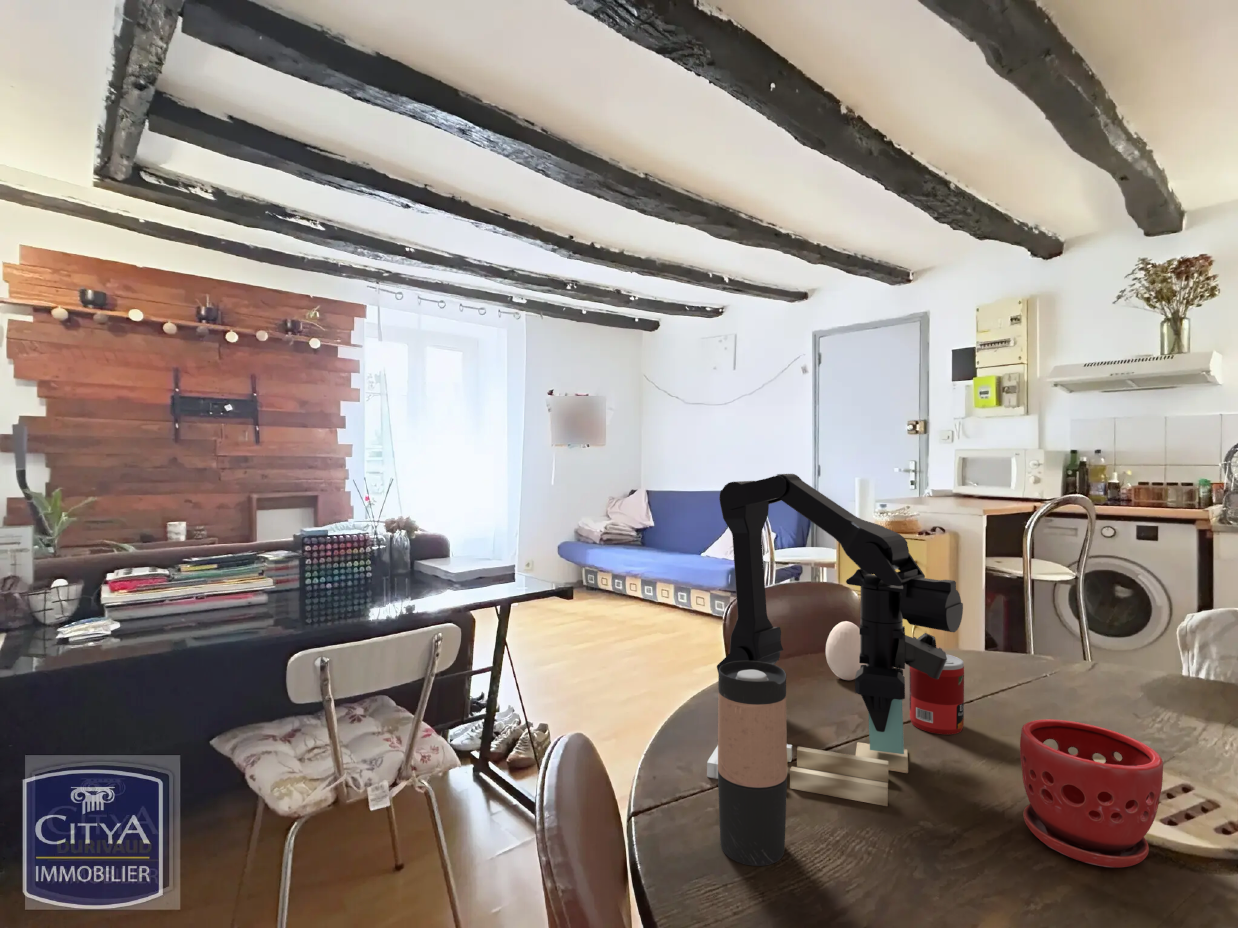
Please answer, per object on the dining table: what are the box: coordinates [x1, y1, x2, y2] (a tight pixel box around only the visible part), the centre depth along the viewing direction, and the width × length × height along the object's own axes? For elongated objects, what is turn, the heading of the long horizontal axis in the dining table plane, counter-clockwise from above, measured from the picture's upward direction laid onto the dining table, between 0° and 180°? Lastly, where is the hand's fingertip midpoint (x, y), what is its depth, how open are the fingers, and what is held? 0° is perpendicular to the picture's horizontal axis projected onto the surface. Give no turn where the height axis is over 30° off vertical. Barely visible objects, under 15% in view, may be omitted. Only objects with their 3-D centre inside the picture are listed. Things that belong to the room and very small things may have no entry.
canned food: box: [909, 653, 965, 736], centre depth 108 cm, size 8×8×11 cm
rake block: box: [867, 699, 905, 754], centre depth 97 cm, size 4×4×9 cm
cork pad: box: [854, 741, 909, 774], centre depth 97 cm, size 7×7×1 cm
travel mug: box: [717, 661, 788, 867], centre depth 75 cm, size 8×8×20 cm
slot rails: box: [789, 746, 889, 807], centre depth 89 cm, size 12×8×2 cm, turn 67°
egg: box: [825, 620, 867, 681], centre depth 131 cm, size 8×8×11 cm
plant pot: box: [1019, 718, 1164, 868], centre depth 75 cm, size 13×13×12 cm
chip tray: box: [706, 743, 793, 780], centre depth 94 cm, size 10×10×2 cm
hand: (880, 725), depth 97 cm, fingers closed on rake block, 4 cm apart
